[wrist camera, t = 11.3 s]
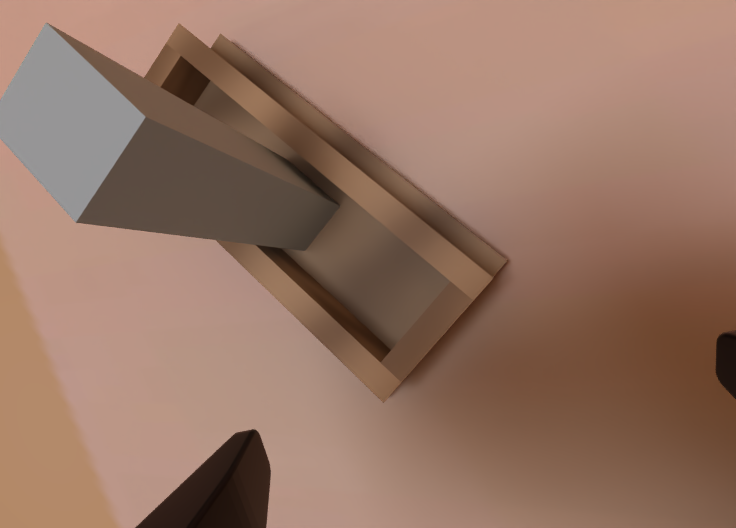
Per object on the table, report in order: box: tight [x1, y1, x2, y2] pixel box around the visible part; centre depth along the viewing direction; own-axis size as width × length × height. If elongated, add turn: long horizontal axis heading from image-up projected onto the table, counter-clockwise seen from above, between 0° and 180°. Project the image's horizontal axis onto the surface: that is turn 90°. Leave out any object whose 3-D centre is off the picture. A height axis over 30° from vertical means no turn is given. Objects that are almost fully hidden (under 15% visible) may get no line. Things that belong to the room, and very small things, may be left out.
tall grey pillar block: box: [0, 23, 340, 251], centre depth 16 cm, size 4×3×12 cm
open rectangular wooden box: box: [144, 24, 507, 403], centre depth 21 cm, size 20×9×4 cm, turn 50°
